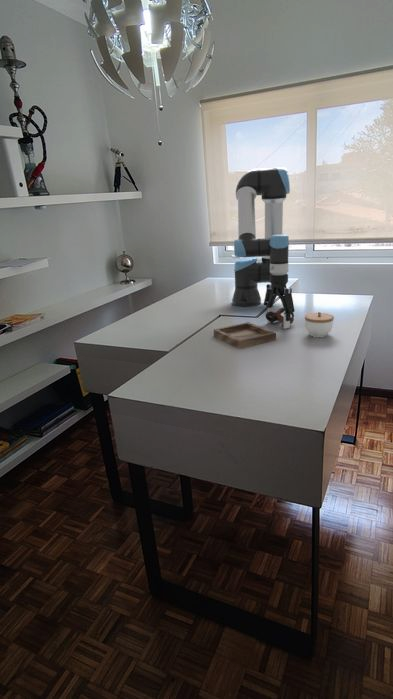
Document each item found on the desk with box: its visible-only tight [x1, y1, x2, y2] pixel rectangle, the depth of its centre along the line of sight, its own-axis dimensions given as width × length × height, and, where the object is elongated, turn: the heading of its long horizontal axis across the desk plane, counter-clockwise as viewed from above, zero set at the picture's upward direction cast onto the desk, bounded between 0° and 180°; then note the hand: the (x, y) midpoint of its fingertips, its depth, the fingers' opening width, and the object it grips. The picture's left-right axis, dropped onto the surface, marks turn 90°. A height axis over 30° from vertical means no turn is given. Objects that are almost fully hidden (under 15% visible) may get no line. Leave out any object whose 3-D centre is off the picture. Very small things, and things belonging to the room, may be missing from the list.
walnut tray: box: [213, 321, 277, 350], centre depth 166 cm, size 19×17×3 cm
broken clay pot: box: [265, 307, 295, 329], centre depth 180 cm, size 12×10×8 cm
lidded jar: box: [304, 311, 335, 338], centre depth 163 cm, size 11×11×9 cm
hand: (278, 325), depth 180 cm, fingers open, 10 cm apart
